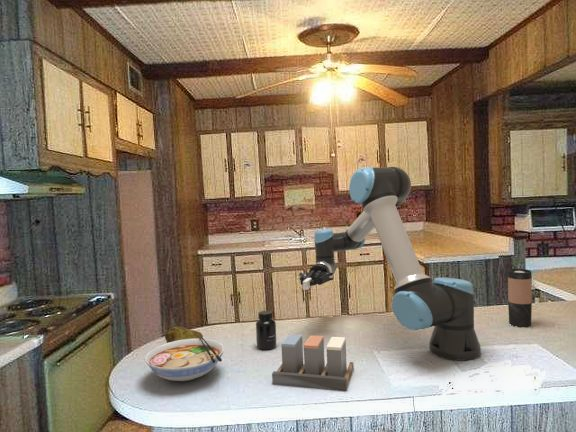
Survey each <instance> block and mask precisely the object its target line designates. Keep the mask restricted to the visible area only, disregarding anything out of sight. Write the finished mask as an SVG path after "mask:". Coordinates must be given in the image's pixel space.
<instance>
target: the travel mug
mask: <svg viewBox="0 0 576 432" xmlns="http://www.w3.org/2000/svg"><path fill="white" fill-rule="evenodd" d="M532 293H533V291H532V271H531V269H530V270H529V269H526V268H525V269H524V268H510V269H509V270H508V271H507V305H508V307H507V308H508V323H509V325H510V324H511V325H510V326H512V325H513V326H512V327H515V326H517V327H516V328H521V327H526V328H530V327H531V326H532V315H533V314H532V313H533V312H532V310H533V309H532V308H533V307H532V306H533V298H532V296H533V294H532ZM529 326H530V327H529Z"/></svg>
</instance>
